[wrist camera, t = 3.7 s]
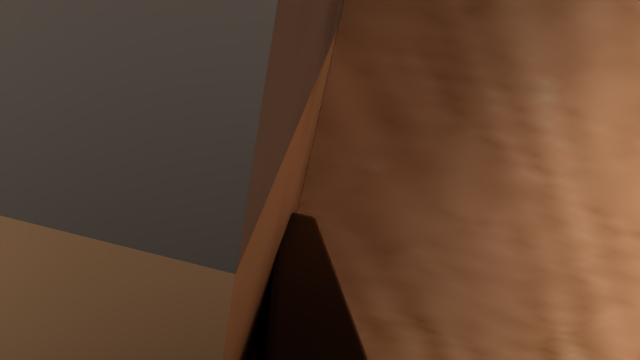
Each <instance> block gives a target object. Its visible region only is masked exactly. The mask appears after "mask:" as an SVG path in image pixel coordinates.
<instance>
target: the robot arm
mask: <svg viewBox="0 0 640 360" xmlns="http://www.w3.org/2000/svg"><path fill="white" fill-rule="evenodd" d="M254 360H368V358H367V355H366V353H365V350H364V347H363V345H362V342H361V339H360V337H359V334H358V331H357V329H356V326H355V323H354V321H353V318H352V315H351V313H350V310H349V307H348V305H347V302H346V299H345V297H344V294H343V291H342V288H341V286H340V283H339V280H338V278H337V275H336V272H335V270H334V267H333V264H332V262H331V259H330V256H329V254H328V251H327V248H326V246H325V243H324V240H323V238H322V235H321V232H320V230H319V227H318V224H317V222H316V219H315V218H314V217H311V216H307V215H303V214H299V213H291V216H290V219H289V221H288V224H287V227H286V230H285V232H284V235H283V238H282V240H281V243H280V246H279V248H278V251H277V254H276V257H275V260H274V264H273V269H272V274H271V279H270V284H269V289H268V294H267V299H266V304H265V309H264V313H263V318H262V323H261V328H260V333H259V338H258V343H257V348H256V353H255V358H254Z"/></svg>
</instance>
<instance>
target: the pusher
mask: <svg viewBox="0 0 640 360" xmlns="http://www.w3.org/2000/svg"><path fill="white" fill-rule="evenodd" d="M343 1H344V0H0V360H254V358H255V353H256V348H257V343H258V338H259V333H260V328H261V323H262V318H263V313H264V309H265V304H266V299H267V294H268V289H269V284H270V279H271V274H272V269H273V264H274V260H275V257H276V254H277V251H278V248H279V246H280V243H281V240H282V238H283V235H284V232H285V230H286V227H287V224H288V221H289V219H290V216H291V213H297V212H298V207H299V202H300V198H301V193H302V189H303V184H304V180H305V175H306V170H307V166H308V161H309V157H310V152H311V148H312V143H313V138H314V134H315V129H316V125H317V120H318V116H319V111H320V106H321V102H322V97H323V93H324V88H325V84H326V79H327V75H328V70H329V65H330V61H331V56H332V52H333V47H334V43H335V38H336V33H337V29H338V24H339V20H340V15H341V11H342V6H343Z"/></svg>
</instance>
